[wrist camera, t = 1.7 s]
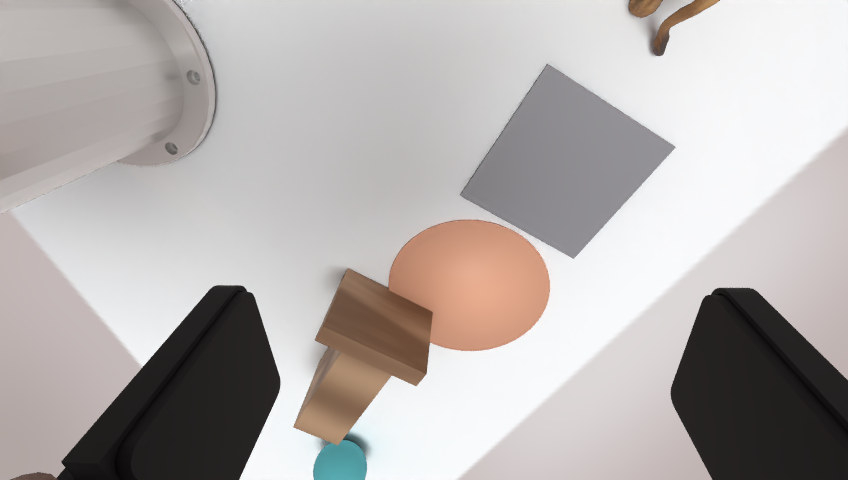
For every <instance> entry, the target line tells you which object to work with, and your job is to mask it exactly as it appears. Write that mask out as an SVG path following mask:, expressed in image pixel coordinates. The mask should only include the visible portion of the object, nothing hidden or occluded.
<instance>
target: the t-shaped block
mask: <svg viewBox="0 0 848 480" xmlns="http://www.w3.org/2000/svg"><path fill="white" fill-rule="evenodd" d="M432 316H433V312H432V311H430V310H428V309H426V308H424V307H422V306H420V305H418V304H416V303H414V302H412V301H410V300H408V299H406V298H403V297H401V296H399V295H397V294H395V293H393V292H391V291H389V288H387V287H385V286H383V285H381V284H379V283H377V282H375V281H373V280H371V279H369V278H367V277H365V276H363V275H361V274H359V273H357V272H355V271H353V270H350V269H348V270H347V271H346V273H345V275H344V277H343V278H342V280H341V282H340V285H339V287H338V289H337V291H336V294H335V296H334V298H333V300H332V303H331V305H330V307H329V309H328V312H327V314H326V316H325V318H324V321H323V323H322V325H321V327H320V330H319V332H318V334H317V336H316V339H315V341H317V342H320V343H322V344H324V345H326V346H328V349H327V351H326V352H325V354H324V356H323V357H322V359H321V361H320V362H319V365H318V367H317V370H316V372H315V374H314V377H313V379H312V382H311V384H310V387H309V389H308V392H307V394H306V397H305V399H304V402H303V404H302V407H301V409H300V412H299V414H298V417H297V419H296V422H295V424H294V426H293V427H294V428H296V429H299V430H301V431H304V432H306V433H309V434H311V435H314V436H316V437H319V438H321V439H323V440H326V441H328V442H331V443H333V444H336V445H339V443H340V442H341V441H342V440H343V438H344V437H345V436H346V434H347V433H348V432H349V430H350V429H351V428H352V426H353V425H354V424H355V423H356V421H357V420H358V419H359V417H360V416H361V415H362V413H363V412H364V411H365V410H366V408H367V407H368V406H369V404H370V403H371V402H372V400H373V399H374V398H375V396H376V395H377V394H378V393H379V391H380V390H381V389H382V387H383V386H384V385H385V383H386V382H387V381H388V380H389V378H390V377H391V376H392V375H393V376H395V377H397V378H399V379H401V380H404V381H406V382H408V383H410V384H413V385H415V386H417V385H418V384H419V382H420V381H421V380H422V379H423V378H424V376H425V375H426V373H427V364H428V354H429V345H430V335H431V325H432Z"/></svg>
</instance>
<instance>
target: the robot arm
mask: <svg viewBox="0 0 848 480" xmlns="http://www.w3.org/2000/svg"><path fill="white" fill-rule="evenodd" d="M198 74H199V76H200V78H199V76H198ZM214 110H215V86H214V79H213V73H212V69H211V66H210V63H209V60H208V57H207V54H206V51H205V49H204V47H203V45H202V43H201V41H200V39H199V37H198V35H197V33H196V31H195V29H194V28H193V26H192V25H191V24H190V22H189V21H188V19H187V18H186V16H185V15H184V13H183V12H182V11H181V10H180V8H179V7H178V6H177V5H176V4H175V3H174V2H173V1H172V0H0V214H2V213H4V212H6V211H8V210H10V209H13V208H15V207H17V206H19V205H21V204H24V203H26V202H28V201H30V200H32V199H34V198H37V197H39V196H41V195H43V194H45V193H48V192H50V191H52V190H54V189H56V188H58V187H61V186H63V185H65V184H67V183H69V182H72V181H74V180H76V179H78V178H80V177H82V176H85V175H87V174H89V173H91V172H93V171H96V170H98V169H100V168H102V167H104V166H106V165H109V164H111V163H113V162H115V161H118V162H121V163H124V164H129V165H135V166H159V165H163V164H167V163H171V162H173V161H175V160H177V159H179V158H181V157H183V156H185V155H186V154H188V153H189V152H191V151H192V150H194V149H195V148H196V147H197V146H198V145H199V144H200V142H201V141H202V140H203V139H204V138H205V136H206V134H207V132H208V130H209V128H210V126H211V123H212V119H213V114H214ZM279 390H280V376H279V373H278V370H277V367H276V364H275V360H274V357H273V354H272V351H271V348H270V345H269V341H268V338H267V335H266V332H265V329H264V326H263V322H262V319H261V316H260V313H259V310H258V307H257V303H256V300H255V297H254V295H253V294H252V293H250V292H247V290H246V289H245V288H244V287H243V286H224V285H217V286H213V287H212V288H211V289H210V290H209V291H208V292H207V293H206V295H205V296H204V297H203V298H202V299H201V300H200V302H199V303H198V304H197V305H196V306H195V307H194V309H193V310H192V311H191V312H190V313H189V314H188V316H187V317H186V318H185V319H184V320H183V321H182V322H181V324H180V325H179V326H178V327H177V328H176V329H175V331H174V332H173V333H172V334H171V335H170V336H169V338H168V339H167V340H166V341H165V342H164V343H163V344H162V346H161V347H160V348H159V349H158V350H157V351H156V353H155V354H154V355H153V356H152V357H151V358H150V360H149V361H148V362H147V363H146V364H145V365H144V366H143V368H142V369H141V370H140V371H139V372H138V374H137V375H136V376H135V377H134V378H133V379H132V380H131V382H130V383H129V384H128V385H127V386H126V387H125V389H124V390H123V391H122V392H121V393H120V394H119V396H118V397H117V398H116V399H115V400H114V401H113V402H112V404H111V405H110V406H109V407H108V408H107V409H106V411H105V412H104V413H103V414H102V415H101V416H100V417H99V419H98V420H97V421H96V422H95V423H94V425H93V426H92V427H91V428H90V429H89V430H88V431H87V433H86V434H85V435H84V436H83V437H82V438H81V439H80V441H79V442H78V443H77V444H76V446H75V447H74V448H73V449H72V450H71V451H70V452H69V453H68V455H67V456H66V457H65V458H64V459H63V460H62V464H63V465H64V466H65V467H66V468H65V469H64V470H63V471H62V472H61V473H60V475H59V476H58V477H57V478H55V477H54V476H53V475H52V474H47V473H41V472H37V473H32V474H26V475H21V476H19V477H16V478H13V479H11V480H239V479H240V476H241V474H242V472H243V470H244V468H245V466H246V463H247V461H248V459H249V457H250V455H251V452H252V450H253V448H254V446H255V444H256V442H257V439H258V437H259V435H260V433H261V431H262V429H263V426H264V424H265V422H266V420H267V418H268V416H269V413H270V411H271V409H272V407H273V405H274V403H275V400H276V398H277V396H278V393H279ZM671 399H672V403H673V405H674V408H675V410H676V411H677V413H678V415H679V417H680V419H681V421H682V423H683V425H684V427H685V428H686V430H687V432H688V434H689V436H690V438H691V440H692V442H693V444H694V446H695V447H696V449H697V451H698V453H699V455H700V457H701V459H702V461H703V463H704V464H705V466H706V468H707V470H708V472H709V474H710V476H711V478H712V480H848V380H847V379H846V378H845V377H844V376H843V375H842V374H841V373H840V372H839V371H838V370H837V369H836V368H835V367H834V366H833V365H832V364H830V363H829V361H828V360H827V359H826V358H824V357H823V356H822V355H821V354H820V353H819V352H818V351H817V350H816V349H815V348H814V347H813V346H812V345H811V344H810V343H809V342H808V341H807V340H806V339H805V338H804V337H803V336H802V335H801V334H800V333H799V332H798V331H797V330H796V329H795V328H794V327H793V326H792V325H791V324H790V323H788V321H787V320H786V319H785V318H784V317H782V315H781V314H780V313H778V311H777V310H775V309H774V308H773V307H772V306H771V305H770V304H769V303H768V302H767V301H766V300H765V299H764V298H763V297H762V296H761V295H760V294H759V293H758V292H757V291H755V290H754V289H750V288H717V289H715V290H714V291H713V292H712V294H711V295H707V296H705V298H704V299H703V301H702V303H701V306H700V309H699V312H698V314H697V317H696V320H695V322H694V325H693V328H692V331H691V334H690V336H689V339H688V342H687V345H686V348H685V350H684V353H683V356H682V359H681V361H680V364H679V367H678V370H677V373H676V375H675V378H674V381H673V384H672V387H671Z"/></svg>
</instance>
